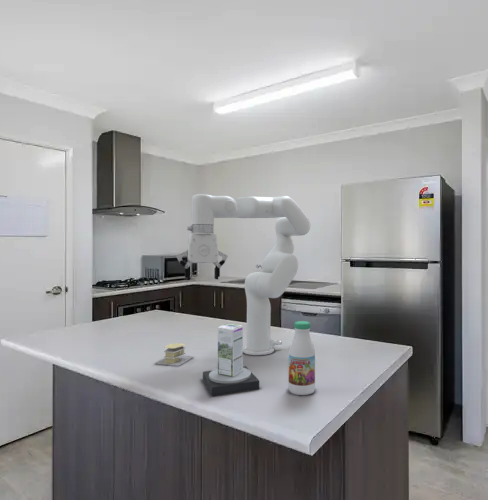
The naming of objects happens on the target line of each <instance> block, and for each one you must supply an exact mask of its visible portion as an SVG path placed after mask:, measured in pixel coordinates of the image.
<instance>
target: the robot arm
mask: <svg viewBox="0 0 488 500" xmlns="http://www.w3.org/2000/svg"><path fill="white" fill-rule="evenodd" d="M236 218H237V219H276V221H275V224H274V225H275V226H274V229H275V235H276V241H275V243H274V245H273V247H272V248H271V249H270V250H269V252H268V253H267V254H266V255H265V257H264V259H263V260H262V263H261V270H262V271H254V272H250V273H249V274H248V275H247V276H246V278H245V280H244V292H245V298H246V345H245V346H243V354H246V355H250V356H265V355H270V354H272V353H274V352H275V346H282V345H283V341H282V339H273V338H271V331H272V330H271V325H272V324H271V322H272V321H271V319H272V318H271V317H272V315H271V313H272V306H271V305H272V304H271V302H270V299H277V298H280V297H281V296H283V294H284V293H285V292H286V290H287V288H288V287H289V285H290V284H291V283H292V281H293V279H294V278H295V276H296V274H297V273H298V269H299V261H298V258H297V257H296V256H295V255H294V250H295V245H294V241H293V236H296V237H297V236H298V237H299V236H305V235H307V234H308V233H309V232H310V230H311V222H310V219H309V217H308V216H307V214H306V213H305V212H304V211H303V209H302V208H301V207H300V205H299V204H298V203H297V202H296V201H295V200H294V199H293V198H291V196H289V195H282V196H254V195H250V196H241V197H231V196H229V195H211V194H207V193H196V194H194V195H192V197H191V225H190V226H186V231H189V232H190V233H189V235H188V241H187V250H185V251H183V252H181V253H178V254H177V255H176V260H177V261H178V262H179V264H180V265H181V266H182V267H183V268H184V278H185V279H186V281H190V280H191V268H190V266H191V265H193V264H213V265H214V266H215V267H214V271H213V272H214V274H213V275H214V280H219V278H220V275H221V268H222V266H223V265H224V264H225V263H226V261H227V259H228V258H229V257H228V255H227V254H225V253H224V252H221V251H220V250H219V243H218V236H217V234H215V219H236ZM185 256H186V259H187V261H186V262H185V261H184V260H183V257H185ZM219 257H221V260H219Z"/></svg>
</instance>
